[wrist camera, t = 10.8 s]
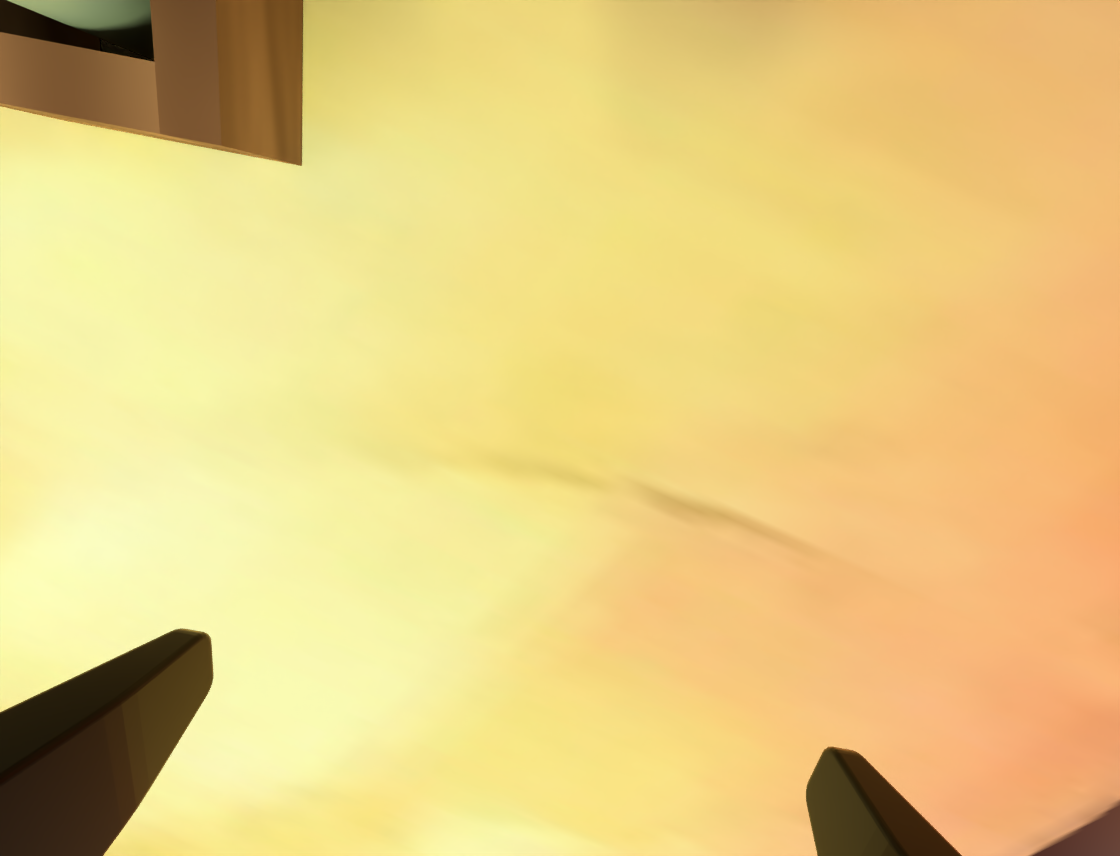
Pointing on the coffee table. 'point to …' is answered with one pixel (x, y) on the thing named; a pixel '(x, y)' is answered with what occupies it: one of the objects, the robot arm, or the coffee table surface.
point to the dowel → (103, 20)
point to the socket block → (169, 75)
